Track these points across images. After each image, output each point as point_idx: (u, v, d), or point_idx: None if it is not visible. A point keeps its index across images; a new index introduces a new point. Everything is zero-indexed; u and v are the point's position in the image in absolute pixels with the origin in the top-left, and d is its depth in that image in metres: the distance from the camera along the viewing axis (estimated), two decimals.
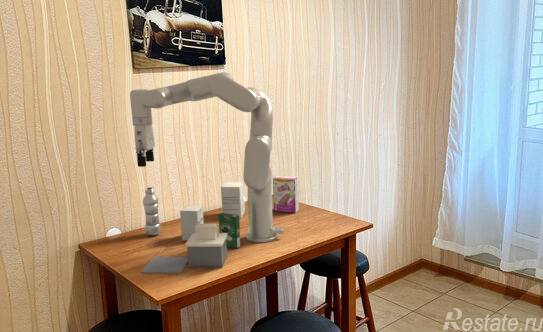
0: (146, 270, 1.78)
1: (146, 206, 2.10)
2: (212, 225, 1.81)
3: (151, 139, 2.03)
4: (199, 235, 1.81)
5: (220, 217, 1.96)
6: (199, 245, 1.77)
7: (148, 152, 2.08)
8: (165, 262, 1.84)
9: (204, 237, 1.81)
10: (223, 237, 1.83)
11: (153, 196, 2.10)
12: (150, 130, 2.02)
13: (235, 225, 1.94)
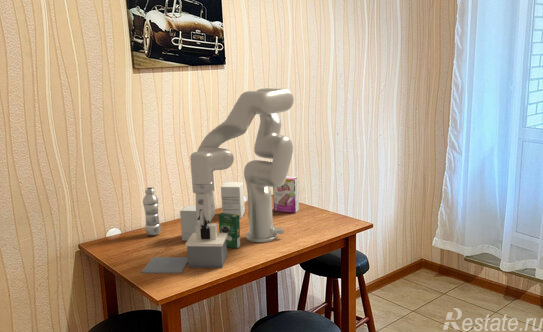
0: (146, 270, 1.78)
1: (146, 206, 2.10)
2: (212, 225, 1.81)
3: (212, 206, 1.80)
4: (199, 235, 1.81)
5: (220, 217, 1.96)
6: (199, 245, 1.77)
7: None
8: (165, 262, 1.84)
9: None
10: (223, 237, 1.83)
11: (153, 196, 2.10)
12: (212, 197, 1.79)
13: (235, 225, 1.94)
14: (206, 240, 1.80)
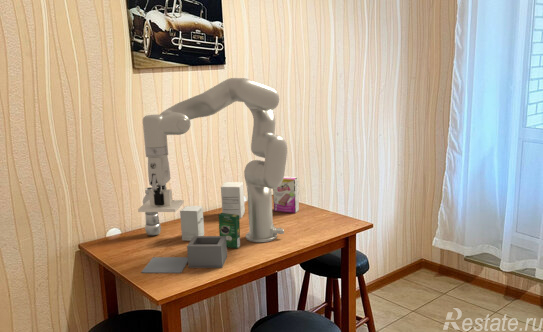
0: (146, 270, 1.78)
1: None
2: (166, 191, 1.76)
3: (167, 172, 1.76)
4: (153, 201, 1.76)
5: (220, 217, 1.96)
6: (152, 210, 1.73)
7: None
8: (165, 262, 1.84)
9: None
10: (178, 203, 1.78)
11: None
12: (166, 161, 1.75)
13: (235, 225, 1.94)
14: (160, 206, 1.76)
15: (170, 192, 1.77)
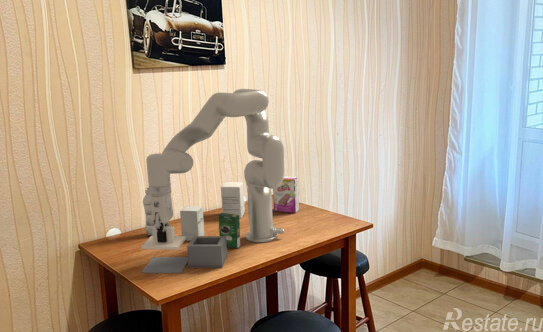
0: (146, 270, 1.78)
1: (146, 206, 2.10)
2: (169, 228, 1.79)
3: (169, 209, 1.79)
4: (156, 238, 1.79)
5: (220, 217, 1.96)
6: (155, 248, 1.76)
7: None
8: (165, 262, 1.84)
9: None
10: (181, 240, 1.81)
11: None
12: (169, 199, 1.78)
13: (235, 225, 1.94)
14: (162, 243, 1.78)
15: (173, 229, 1.80)
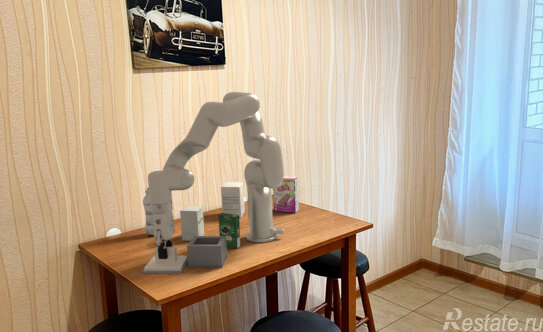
0: None
1: (146, 206, 2.10)
2: (171, 249, 1.81)
3: (171, 226, 1.80)
4: (159, 259, 1.81)
5: (220, 217, 1.96)
6: (158, 269, 1.77)
7: (166, 242, 1.84)
8: None
9: (163, 260, 1.81)
10: (183, 260, 1.83)
11: None
12: (170, 216, 1.79)
13: (235, 225, 1.94)
14: (165, 264, 1.80)
15: (175, 250, 1.81)
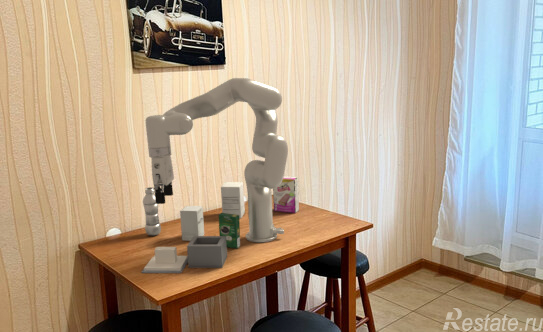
0: None
1: (146, 206, 2.10)
2: (171, 249, 1.81)
3: (170, 171, 1.78)
4: (159, 259, 1.81)
5: (220, 217, 1.96)
6: (158, 269, 1.77)
7: (166, 185, 1.83)
8: None
9: (163, 260, 1.81)
10: (183, 260, 1.83)
11: (153, 196, 2.10)
12: (169, 161, 1.77)
13: (235, 225, 1.94)
14: (165, 264, 1.80)
15: (175, 250, 1.81)
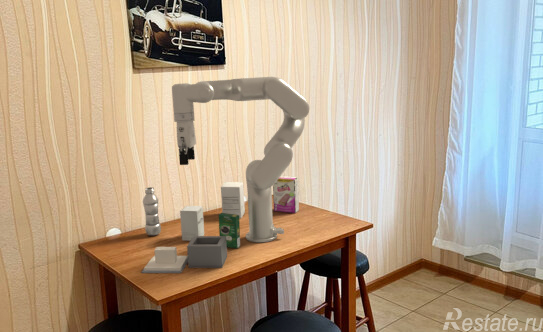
0: None
1: (146, 206, 2.10)
2: (171, 249, 1.81)
3: (193, 136, 1.93)
4: (159, 259, 1.81)
5: (220, 217, 1.96)
6: (158, 269, 1.77)
7: (189, 150, 1.98)
8: None
9: (163, 260, 1.81)
10: (183, 260, 1.83)
11: (153, 196, 2.10)
12: (192, 126, 1.92)
13: (235, 225, 1.94)
14: (165, 264, 1.80)
15: (175, 250, 1.81)
